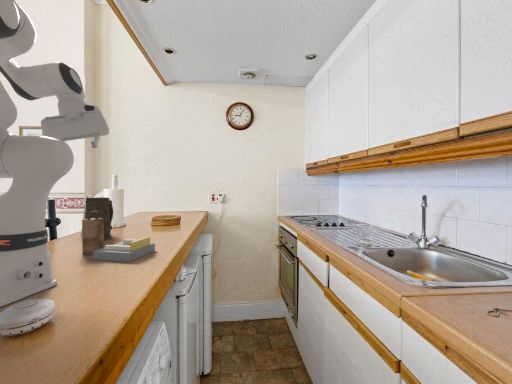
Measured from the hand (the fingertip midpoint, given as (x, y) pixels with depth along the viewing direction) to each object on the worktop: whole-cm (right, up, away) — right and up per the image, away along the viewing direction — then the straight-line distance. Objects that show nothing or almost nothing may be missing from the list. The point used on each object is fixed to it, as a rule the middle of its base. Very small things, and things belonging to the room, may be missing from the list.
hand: (80, 149), depth 98 cm
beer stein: (-14, -37, +38) cm, 55 cm away
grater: (-23, -37, +51) cm, 67 cm away
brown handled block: (-1, -38, +10) cm, 39 cm away
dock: (+13, -38, +7) cm, 41 cm away
